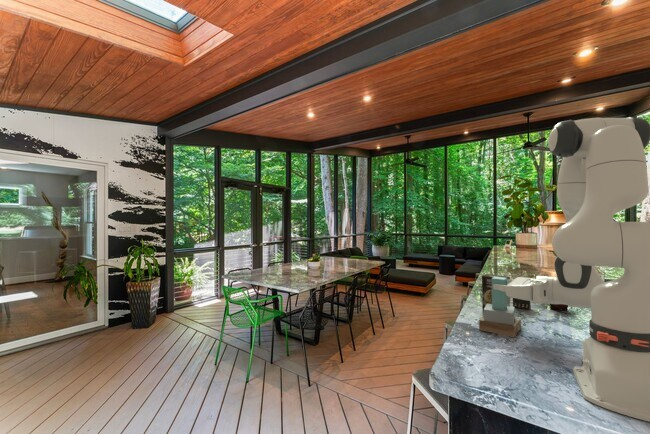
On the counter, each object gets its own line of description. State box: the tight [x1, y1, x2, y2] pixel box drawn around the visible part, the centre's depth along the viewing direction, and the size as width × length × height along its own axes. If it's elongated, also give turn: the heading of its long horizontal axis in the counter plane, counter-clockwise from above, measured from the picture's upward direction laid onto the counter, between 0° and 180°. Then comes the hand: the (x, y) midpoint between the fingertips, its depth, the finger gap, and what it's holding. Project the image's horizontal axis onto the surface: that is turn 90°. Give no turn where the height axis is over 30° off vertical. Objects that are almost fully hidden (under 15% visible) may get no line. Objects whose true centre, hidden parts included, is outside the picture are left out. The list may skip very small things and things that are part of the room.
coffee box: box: [481, 273, 511, 315], centre depth 125 cm, size 9×6×16 cm
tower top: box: [483, 304, 516, 325], centre depth 109 cm, size 9×9×4 cm
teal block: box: [492, 277, 507, 310], centre depth 109 cm, size 4×4×11 cm
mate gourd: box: [544, 272, 569, 312], centre depth 130 cm, size 8×8×15 cm
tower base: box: [478, 315, 522, 338], centre depth 108 cm, size 11×11×4 cm
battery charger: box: [512, 298, 532, 310], centre depth 132 cm, size 7×4×11 cm, turn 47°
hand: (497, 284), depth 110 cm, fingers open, 8 cm apart
